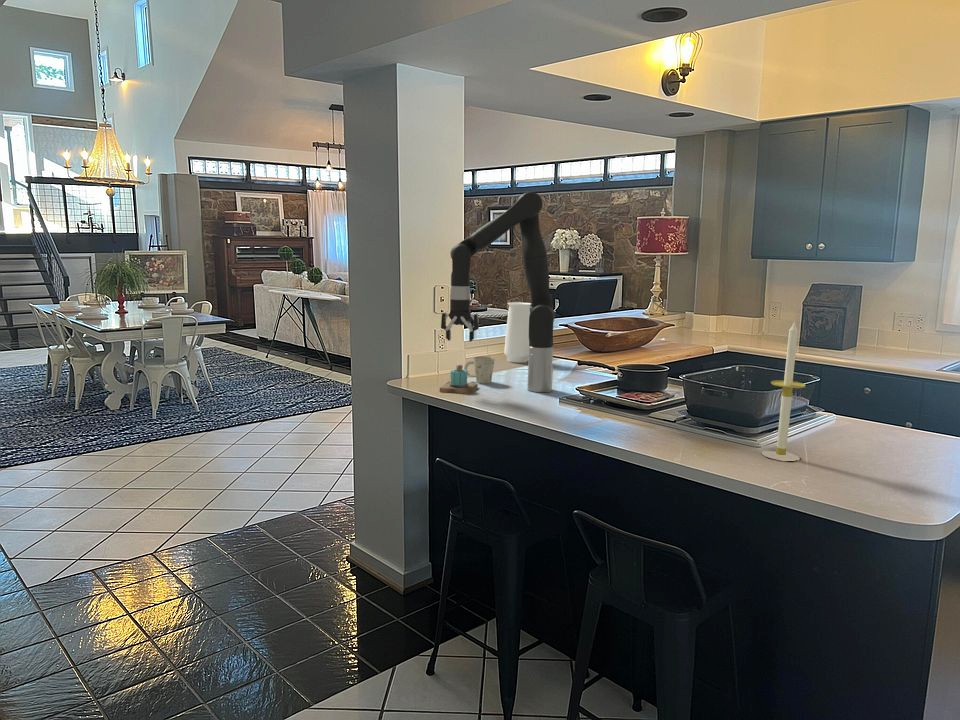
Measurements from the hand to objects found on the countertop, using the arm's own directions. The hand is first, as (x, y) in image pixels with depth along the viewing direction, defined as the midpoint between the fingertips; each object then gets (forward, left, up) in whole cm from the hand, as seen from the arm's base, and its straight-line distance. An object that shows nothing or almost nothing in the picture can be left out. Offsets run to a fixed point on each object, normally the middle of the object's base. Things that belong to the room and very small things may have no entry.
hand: (459, 340), depth 256 cm
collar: (0, 0, -17) cm, 17 cm away
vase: (-11, -72, -19) cm, 75 cm away
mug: (-4, -17, -19) cm, 26 cm away
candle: (-105, +55, -19) cm, 120 cm away
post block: (0, 0, -19) cm, 19 cm away
